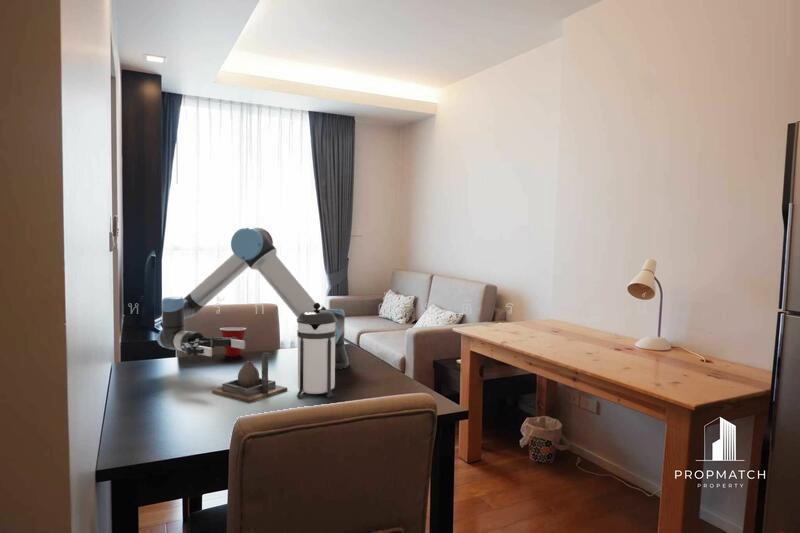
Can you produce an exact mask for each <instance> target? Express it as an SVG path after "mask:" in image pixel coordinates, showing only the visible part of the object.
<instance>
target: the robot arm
mask: <svg viewBox="0 0 800 533" xmlns="http://www.w3.org/2000/svg"><path fill="white" fill-rule="evenodd" d="M230 247H231V250H232V255H230V256H229V258H227V259H226V260H225V261H224V262H223V263H221V265H219V267H217V268H216V269H215V270H214V271H213V272H212V273H210V275H208V276H207V277H206V278H205V279H204V280H203V281H201V283H199V284H198V285H197V286H196V287H195V288H194V289H193V290H191V291H190V293H188V294H187V295H186V296H185V297H183V296H168V297H167V296H166V297H164V298H162V300H161V321H162V322H161V323H162V324H161V325H162V327H161V328H162V329H161V330H160V331H158V334H157V336H156V341H157V344H158V345H159V346H161V348H166V349H167V350H175V351H179V352H183V353H185V354H186V355H187V356H191V355H193V357H197V356H198V355H199V356H200V355H201V356H204V357H212V356H213V349H214V348H215V347H224V346H231V347H235V348H240V349H241V350H244V349H246V341H245V340H243V341H242V340H237V338H234V337H232V338H223V337H219V336H218V337H217V336H212V337H205V336H204V335H203V334H202V333H201V332H196V331H190V330H185V320H186V319H189V318H192V317H196V316H197V315H198V314H199V313H200V312H201V311H202V309H203V308H204V307H205V306H206V305H207V304H208V303H209V302H210V301H212V300H213V299H214V298H215V297H216V296H217V295H218V294H220V293H221V292H222V291H223V290H224V289H225V288H226V287H228V285H230V284H231V283H233V281H234V280H236V278H237V277H239V276H240V275H241V274H242V273H243V272H245V270H247V269H249V268H250V269H251V270H256V271H258V272H259V273H260V275H261V276H262V278H264V279H265V281H266V282H267V283H268V285H269V286H271V288H272V289H273V290H274V291H275V293H276V294H277V295H278V297H280V299H281V300H282V301H283V303H284V304H285V305H286V306H287V307H288V308H289V309H290V311H291V312H292V313H293V314H294V316H295V317H296V319H297V318H298V317H299V315H300V314H301V313H302V312H304V311H308V310H315V309H314V307H313V306H314V304H315V303H316V301H315V300H314V299H313V298H312V297H311V295H310V294H309V293H308V292H307V291H306V290H305V288H304V287H303V285H302V284H300V282H299V281H298V280H297V279H296V278H295V276H294V275H293V274H292V273H291V271H290V270H289V269H288V268H287V267H286V265H285V264H284V263H283V262H282V261H281V259H280V258H279V257H278V256H277V250H278V249H277V248H276V246H274V241H273V237H272V235H271V234H270V233H269V231H267V230H266V229H264V228H262V227H254V226H245V227H241V228H239V229H238V230H236V232H234V234H233V235H232V237H231V240H230ZM320 306H321V307H320V308H319V310H326V311H330V312H332V313H333V314H334V315H335V318H336V319H337V321H336V323H335V329H336V336H335V369H340V368H344V367H346V366H348V365H349V364H350V363H349V357H348V355H347V354H348V353H347V351H346V348H345V319H346V314H345V310H344V309H342V308H341V309H336V308H331V309H330V308H328V309H327V308H326V307H325V306H324V305H320ZM348 367H349V366H348Z"/></svg>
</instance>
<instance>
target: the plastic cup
mask: <svg viewBox="0 0 800 533" xmlns="http://www.w3.org/2000/svg"><path fill="white" fill-rule="evenodd" d="M219 330H220V331H221V336H222V338H232V337H234V338H237V340H242V341H244V335H245V332H246V330H247V327H237V326H236V327H235V326H234V327H232V326H231V327H229V326H228V327H220V328H219ZM223 348H224V352H225V355H226V356H225V357H238V355H239V356H240V355H241V353H242V352H241V351H242V349H240V348H235V347H231V346H223Z"/></svg>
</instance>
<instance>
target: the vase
mask: <svg viewBox="0 0 800 533" xmlns="http://www.w3.org/2000/svg"><path fill="white" fill-rule="evenodd" d="M259 378H260V373H259V370H258V368H257V367H256V366H255V365H254V362H253V361H249V360H248V361H245V362H244V363H243V365H242V366H241V368H240V369H239V371H238V373H237V379H238V384H239V386H240V387H243V388H247V389H248V388H251V387H254V386H257V385H258V383H259Z"/></svg>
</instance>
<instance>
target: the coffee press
mask: <svg viewBox="0 0 800 533" xmlns="http://www.w3.org/2000/svg"><path fill="white" fill-rule="evenodd" d="M321 306H322V305H321V304H320V303H319V302H315V304H314V306H313V307H314V309H315V310H308V311H304V312H302V313H301V314H300V315H299V317H298V318H297V317H296V322H297V330H296V333H297V334H296V337H297V388H298V393H297V394H296V397H297V398H298V399H300V400H303V398H304V397H305V395H307V394H310V395H318V394H324V395H325V396H326V398H327V399H332V398H334V394H333V391H332V389H333V390H335V386H336V379H335V378H336V370H335V336H336V329H335V323H336V321H337V319H336V318H335V315H334V314H333V313H332V312H330V311H326V310H319V308H320V307H321Z"/></svg>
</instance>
